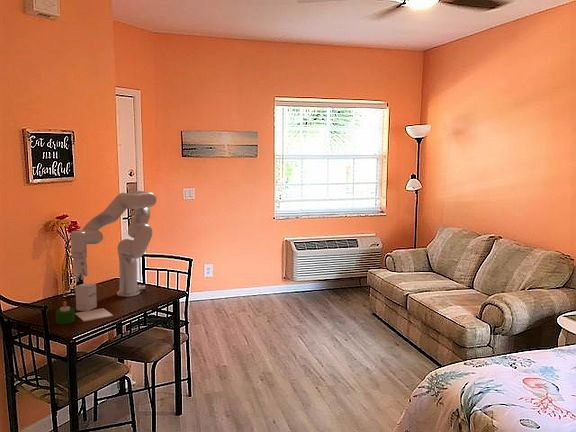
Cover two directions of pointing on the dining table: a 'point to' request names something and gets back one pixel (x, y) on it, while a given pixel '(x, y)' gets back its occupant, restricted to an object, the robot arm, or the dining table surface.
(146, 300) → the dining table surface
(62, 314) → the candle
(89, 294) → the supplement box
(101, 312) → the mat
